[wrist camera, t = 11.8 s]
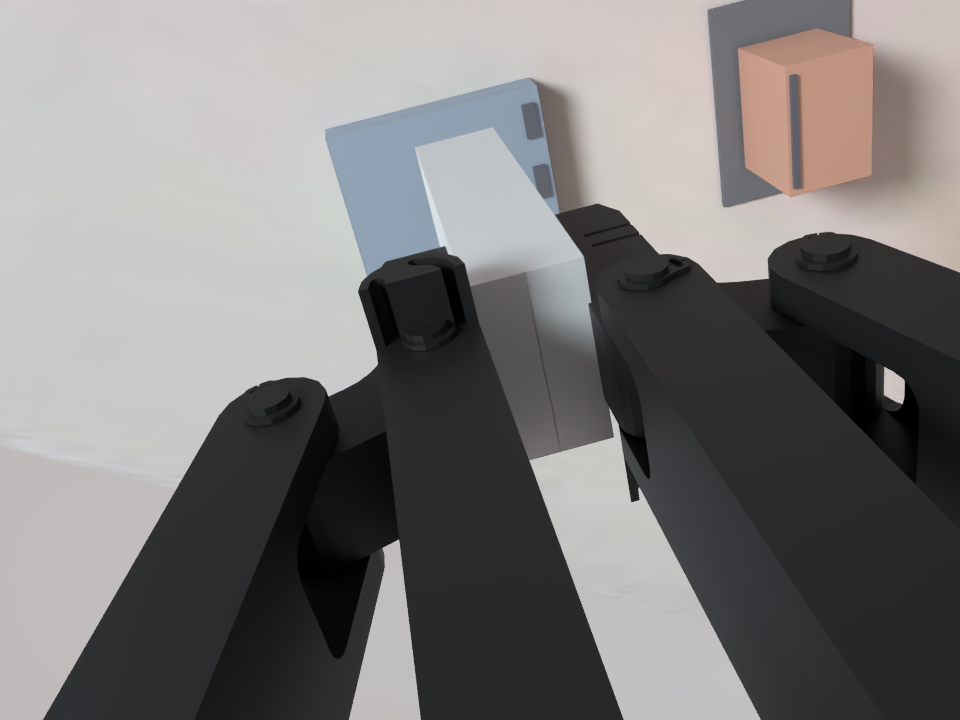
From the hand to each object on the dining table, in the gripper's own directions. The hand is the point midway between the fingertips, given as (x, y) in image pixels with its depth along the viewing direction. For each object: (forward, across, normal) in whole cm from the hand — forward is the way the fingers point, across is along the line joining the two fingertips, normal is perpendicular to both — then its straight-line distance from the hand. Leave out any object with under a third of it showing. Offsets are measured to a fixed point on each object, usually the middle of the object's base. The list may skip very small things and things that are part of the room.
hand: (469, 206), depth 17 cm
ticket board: (+26, +1, -10) cm, 28 cm away
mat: (+26, +18, -8) cm, 33 cm away
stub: (+26, +18, -8) cm, 33 cm away
